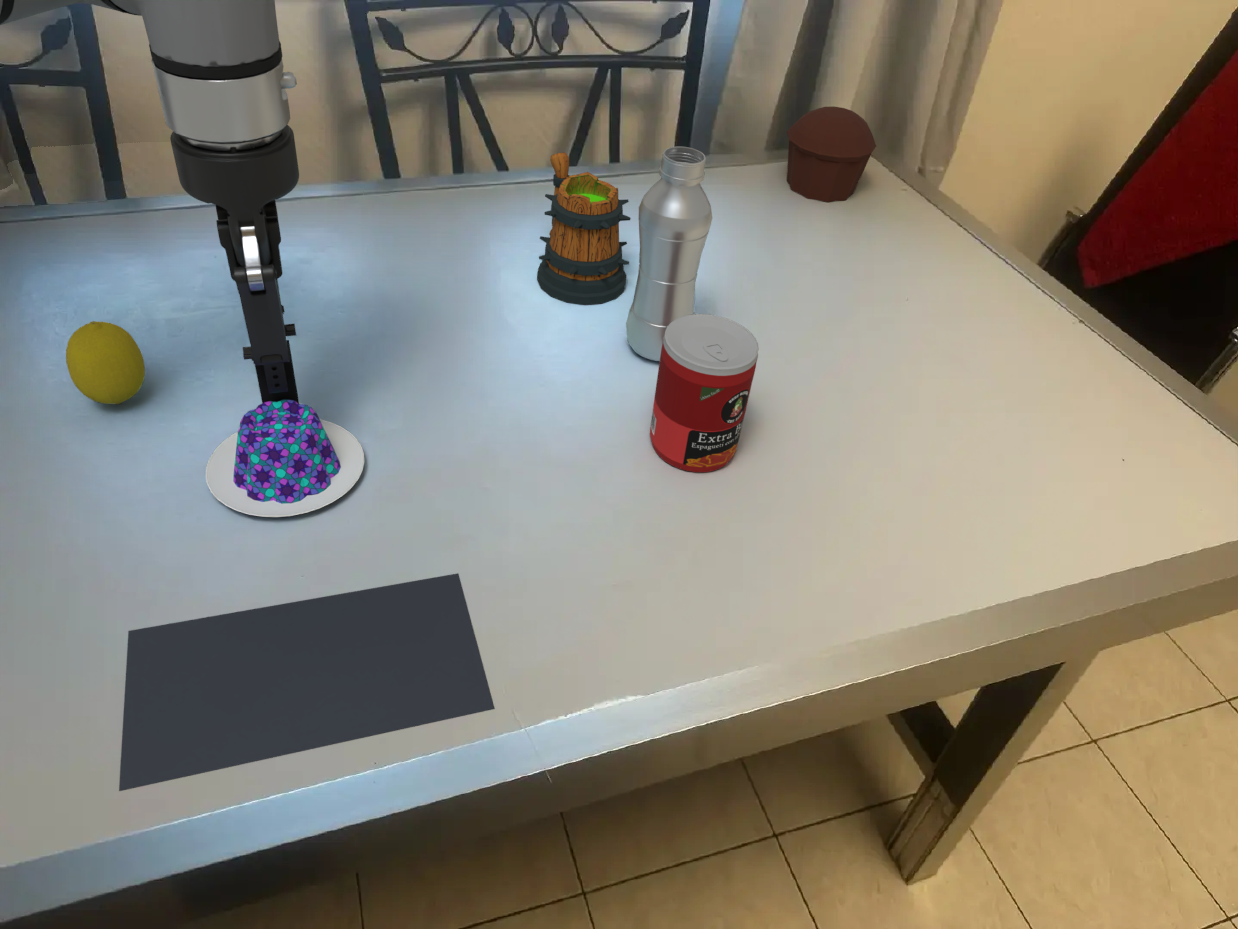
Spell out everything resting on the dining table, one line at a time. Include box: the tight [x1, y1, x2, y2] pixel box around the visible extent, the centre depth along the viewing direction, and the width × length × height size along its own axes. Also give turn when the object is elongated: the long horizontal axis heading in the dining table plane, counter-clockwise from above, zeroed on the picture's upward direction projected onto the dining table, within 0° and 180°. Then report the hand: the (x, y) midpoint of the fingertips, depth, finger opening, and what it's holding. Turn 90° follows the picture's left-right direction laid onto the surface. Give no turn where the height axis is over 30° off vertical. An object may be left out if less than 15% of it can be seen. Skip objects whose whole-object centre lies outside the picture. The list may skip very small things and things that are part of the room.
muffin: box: [786, 105, 877, 203], centre depth 123 cm, size 12×11×10 cm
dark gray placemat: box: [118, 573, 496, 792], centre depth 62 cm, size 22×12×1 cm, turn 108°
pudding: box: [205, 400, 365, 518], centre depth 74 cm, size 12×12×5 cm
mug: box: [536, 152, 632, 306], centre depth 100 cm, size 13×10×12 cm
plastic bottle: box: [625, 146, 713, 362], centre depth 87 cm, size 6×7×20 cm
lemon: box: [65, 320, 146, 405], centre depth 78 cm, size 6×6×8 cm
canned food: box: [649, 313, 760, 473], centre depth 80 cm, size 8×8×11 cm
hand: (282, 413), depth 77 cm, fingers closed
